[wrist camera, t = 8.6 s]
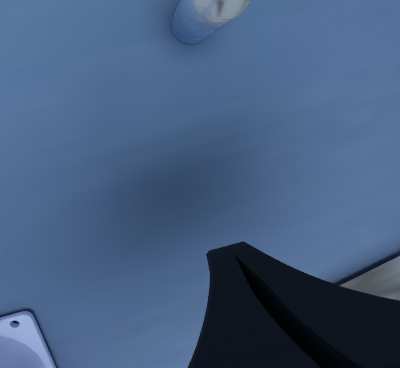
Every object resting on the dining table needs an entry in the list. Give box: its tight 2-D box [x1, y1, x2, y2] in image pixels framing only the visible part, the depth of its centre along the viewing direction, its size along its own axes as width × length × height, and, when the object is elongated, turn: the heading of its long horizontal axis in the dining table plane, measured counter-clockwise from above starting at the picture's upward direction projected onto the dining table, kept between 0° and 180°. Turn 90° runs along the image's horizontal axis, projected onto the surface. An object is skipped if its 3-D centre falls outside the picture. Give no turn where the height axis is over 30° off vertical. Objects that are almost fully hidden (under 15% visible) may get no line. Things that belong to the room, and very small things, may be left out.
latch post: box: [171, 0, 251, 45], centre depth 14 cm, size 2×2×7 cm
